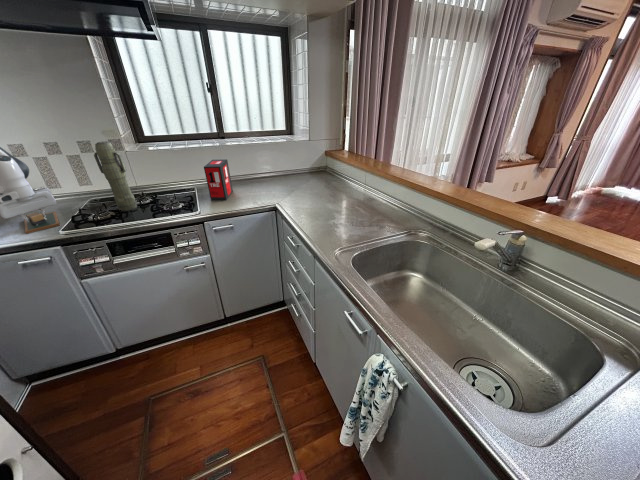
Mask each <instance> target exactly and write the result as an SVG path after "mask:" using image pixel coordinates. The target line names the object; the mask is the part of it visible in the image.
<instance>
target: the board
mask: <svg viewBox="0 0 640 480" xmlns="http://www.w3.org/2000/svg"><path fill="white" fill-rule="evenodd" d="M44 214H45V216H46V217H44V219H45V220H46V222H44V223H41V224H38V225H35V224H32V223H30V222H27V221H26V220H25V219H24V218H23V223H24V232H25V234H26V235H28V234H31V233H35V232H39V231H43V230H47V229H51V228H56V227H59V226H61V224H60V221H59V217H58V215H57V212H56V211H51V212H47V213H44Z"/></svg>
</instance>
